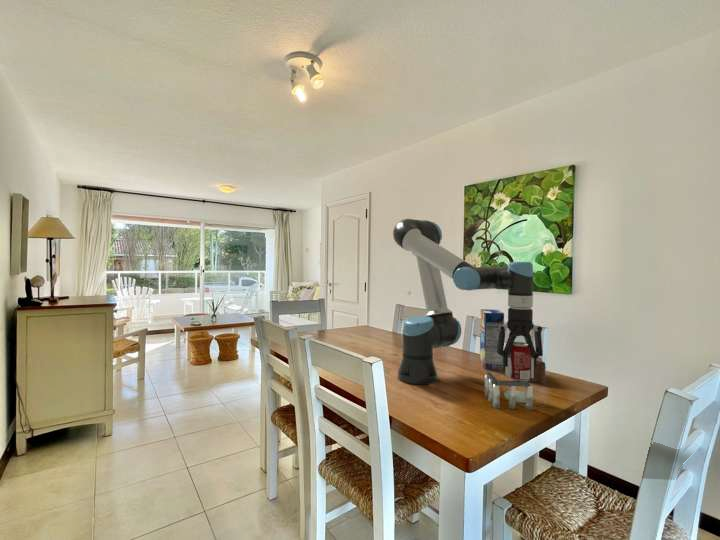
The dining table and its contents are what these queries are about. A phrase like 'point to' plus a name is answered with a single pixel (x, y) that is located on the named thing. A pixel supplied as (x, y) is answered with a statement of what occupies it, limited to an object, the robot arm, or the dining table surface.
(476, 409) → the dining table surface
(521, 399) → the coaster
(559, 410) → the dining table surface
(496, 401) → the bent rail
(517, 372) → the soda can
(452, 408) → the dining table surface
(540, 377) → the food item
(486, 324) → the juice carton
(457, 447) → the dining table surface
